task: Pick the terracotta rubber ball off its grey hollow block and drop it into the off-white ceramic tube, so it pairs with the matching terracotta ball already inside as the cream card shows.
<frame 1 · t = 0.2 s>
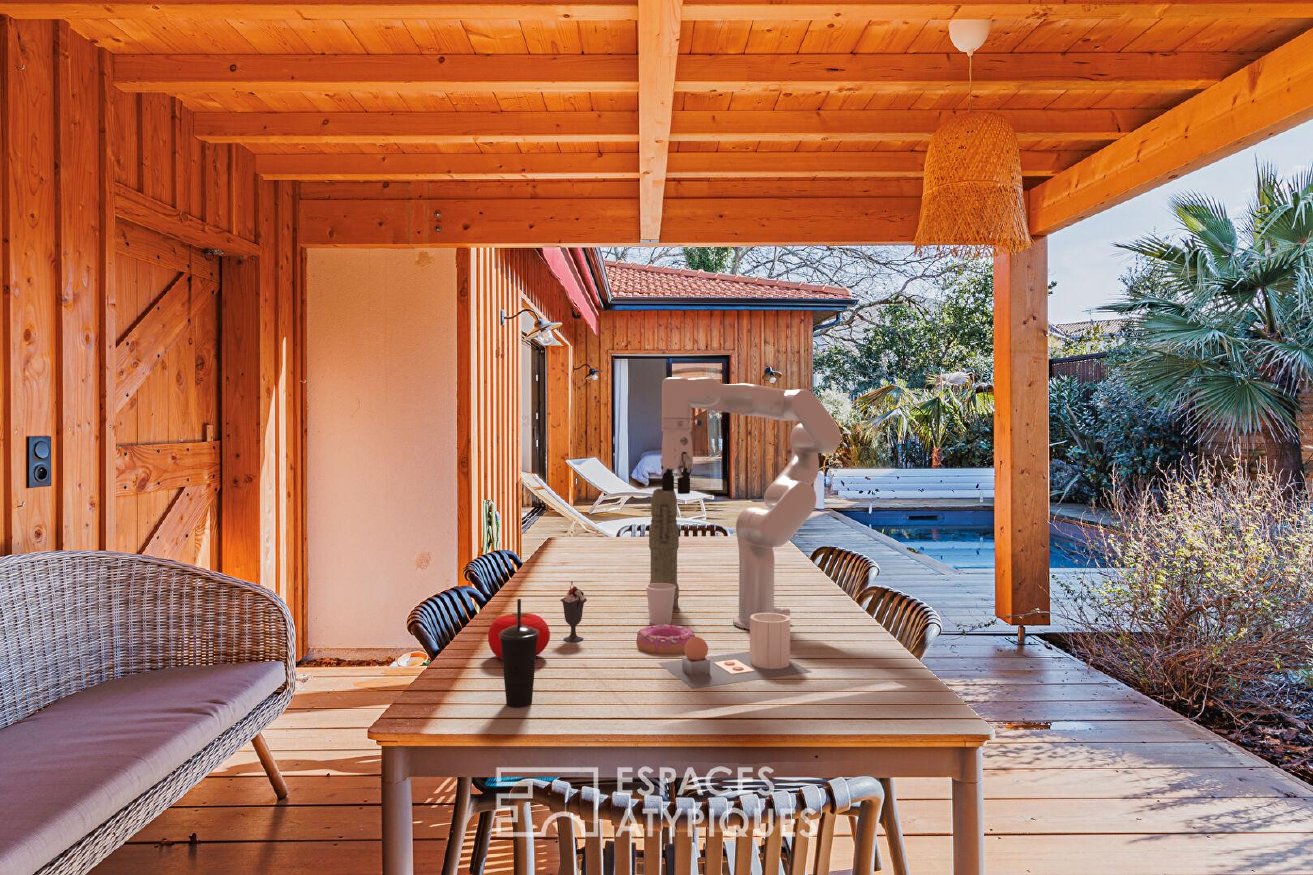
hand: (675, 492, 196), 37 cm above the table, tool pointing down, fingers open, 9 cm apart
ball: (696, 648, 162), point 6 cm above the table, touching grey hollow block
sundae: (573, 640, 191), on the table
drinking cup: (519, 704, 147), on the table
olive tall column: (663, 607, 228), on the table
donut: (666, 651, 182), on the table
tube ball: (769, 651, 169), point 4 cm above the table, touching board
dixie cup: (660, 622, 209), on the table
grey hollow block: (696, 672, 162), resting on board
board: (733, 672, 165), on the table
tomato: (518, 658, 176), on the table
tube: (769, 662, 169), resting on board
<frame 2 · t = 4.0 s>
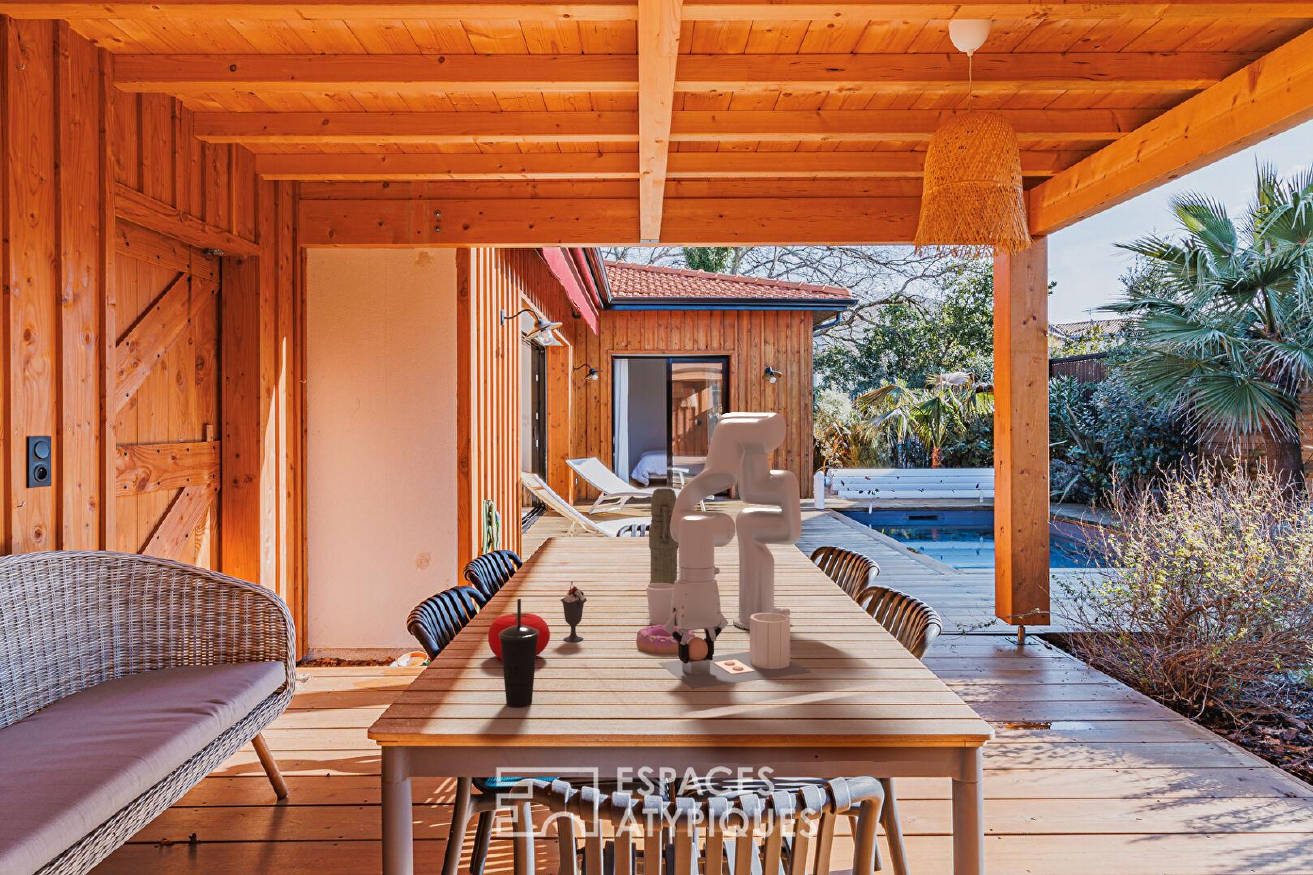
hand: (696, 659, 162), 4 cm above the table, tool pointing down, fingers closed on ball, 4 cm apart
ball: (696, 648, 162), point 6 cm above the table, touching gripper, grey hollow block
everything else where it was.
when the fingers open (13 cm above the table, at t = 8.7 s): ball drops 7 cm and tips over, resting on tube, tube ball.
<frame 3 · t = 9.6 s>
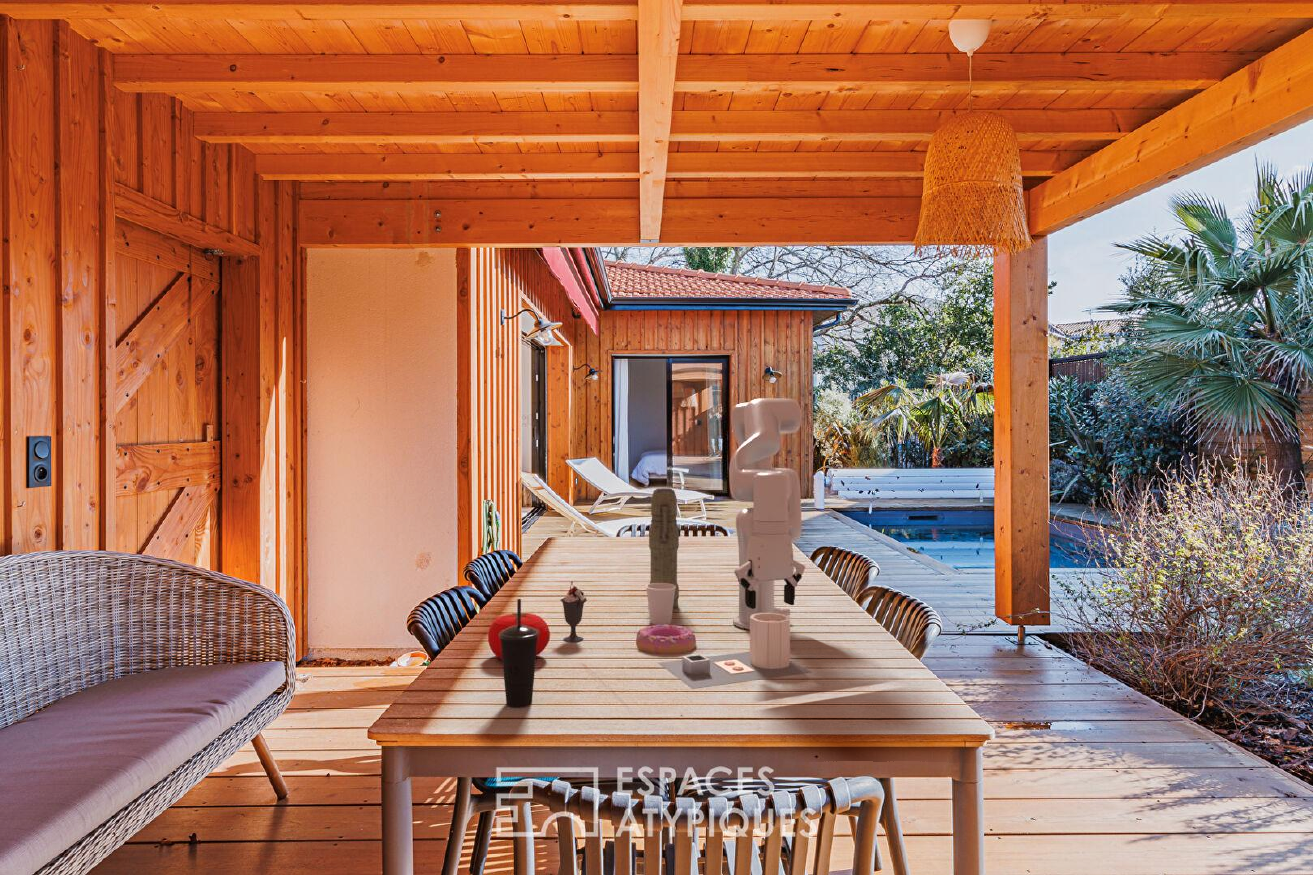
hand: (770, 605, 169), 14 cm above the table, tool pointing down, fingers open, 9 cm apart
ball: (772, 631, 168), point 8 cm above the table, tilted 68°, touching tube, tube ball
tube ball: (766, 650, 170), point 4 cm above the table, tilted 23°, touching ball, board, tube
everything else where it was.
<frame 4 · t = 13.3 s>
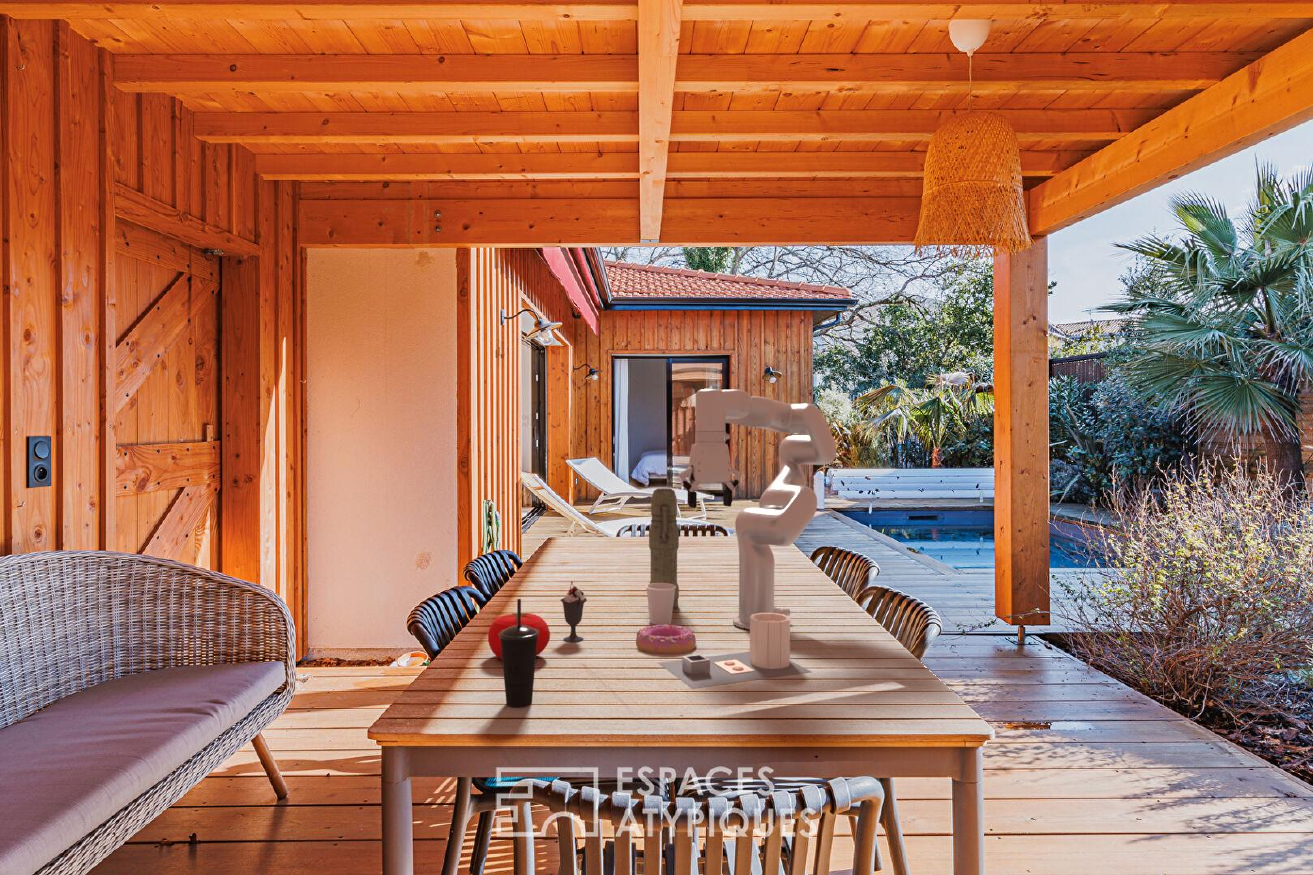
hand: (710, 506, 192), 33 cm above the table, tool pointing down, fingers open, 9 cm apart
nothing on the table moved.
at the end: ball 1.0 cm off-centre on the tube, point 7.1 cm above the tube's base; the gripper is holding nothing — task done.
